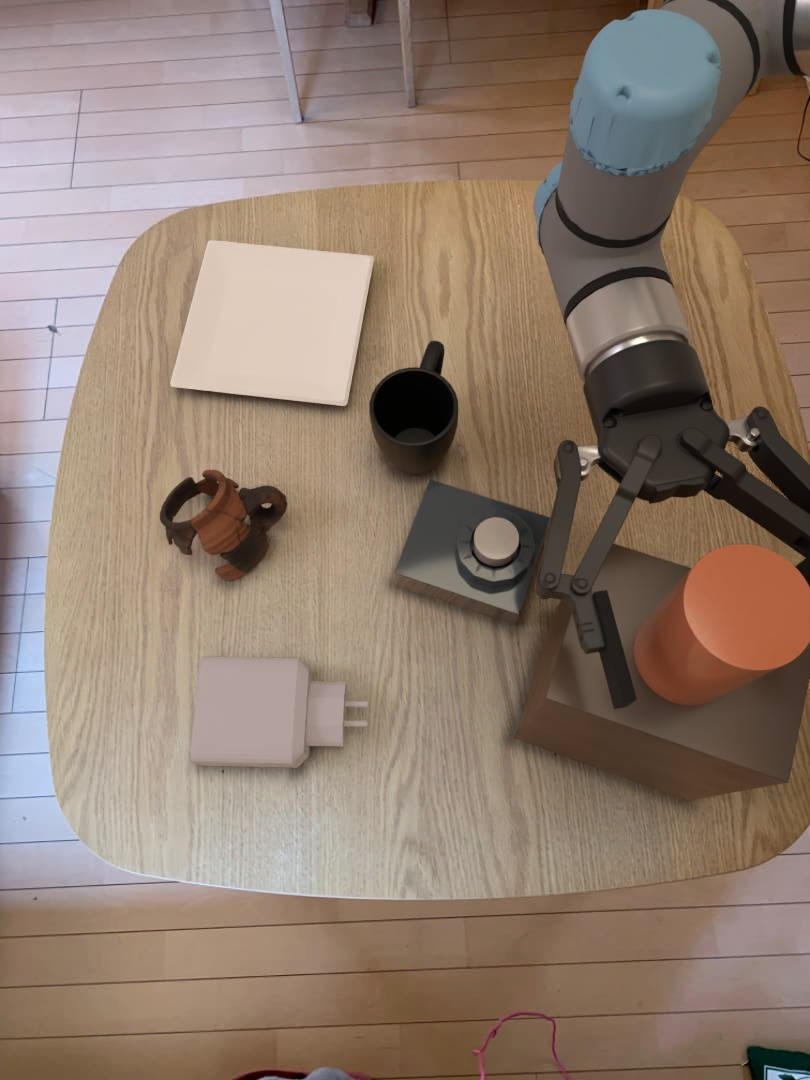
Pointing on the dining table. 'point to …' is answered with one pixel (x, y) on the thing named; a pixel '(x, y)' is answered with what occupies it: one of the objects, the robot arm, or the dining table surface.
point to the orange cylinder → (724, 625)
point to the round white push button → (495, 541)
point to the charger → (265, 712)
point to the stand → (659, 703)
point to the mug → (415, 414)
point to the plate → (274, 322)
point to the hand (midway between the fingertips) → (737, 684)
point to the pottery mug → (225, 521)
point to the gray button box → (468, 553)
